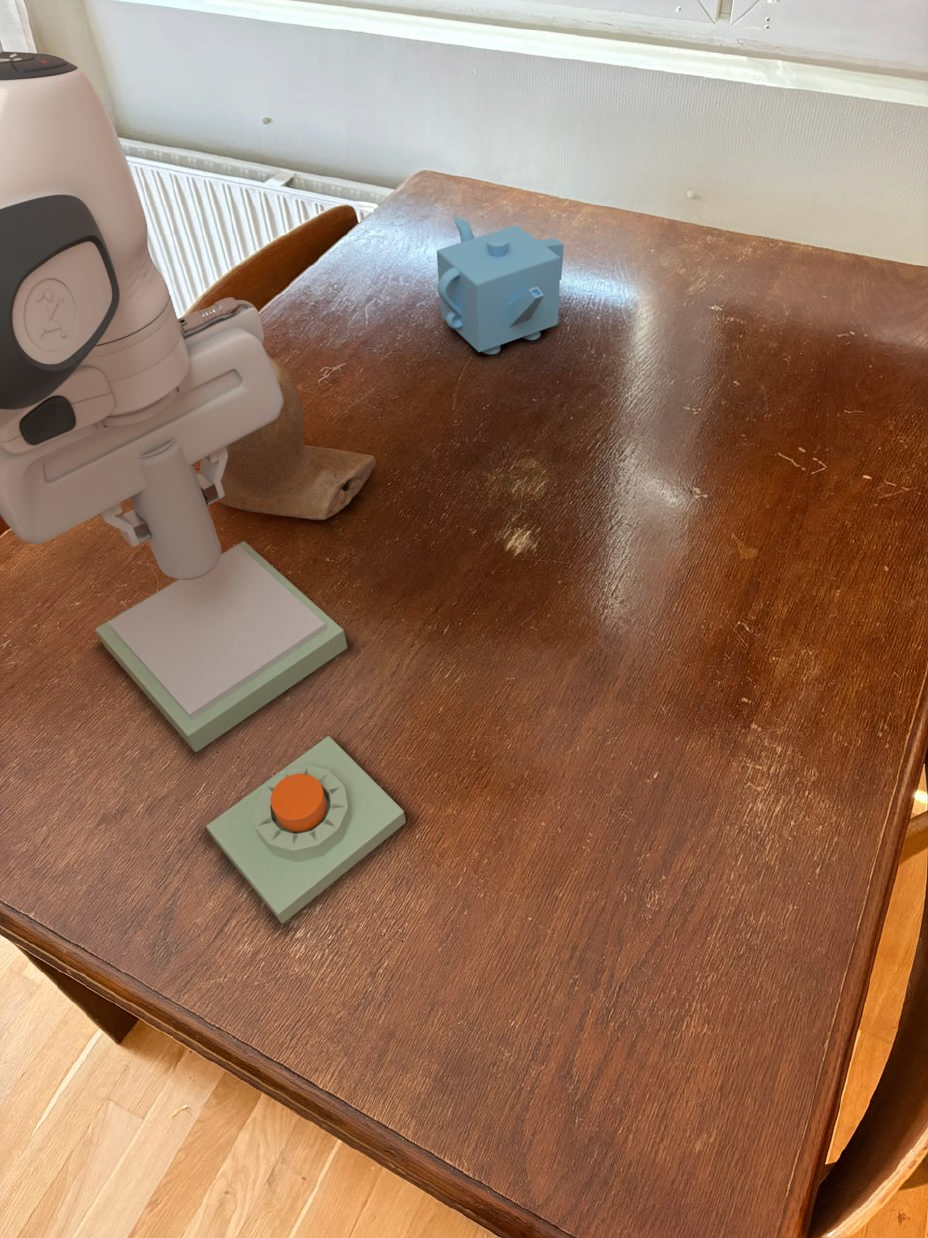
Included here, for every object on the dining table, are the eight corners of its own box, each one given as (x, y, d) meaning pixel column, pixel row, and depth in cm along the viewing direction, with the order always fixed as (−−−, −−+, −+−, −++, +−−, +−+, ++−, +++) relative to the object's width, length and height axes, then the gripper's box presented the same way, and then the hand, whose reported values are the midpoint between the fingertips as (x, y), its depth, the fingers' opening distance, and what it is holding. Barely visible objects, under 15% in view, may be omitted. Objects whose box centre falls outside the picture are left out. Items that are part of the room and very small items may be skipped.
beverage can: (147, 568, 68) (91, 441, 59) (193, 531, 71) (146, 404, 62) (191, 593, 66) (140, 466, 57) (236, 554, 69) (195, 427, 60)
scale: (196, 753, 70) (184, 730, 67) (104, 646, 77) (91, 622, 75) (347, 647, 76) (342, 623, 74) (249, 558, 84) (241, 534, 81)
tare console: (282, 925, 60) (272, 903, 58) (211, 837, 65) (198, 813, 62) (406, 822, 65) (402, 798, 62) (332, 747, 70) (324, 721, 67)
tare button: (295, 842, 61) (290, 829, 60) (265, 808, 63) (260, 795, 62) (337, 809, 63) (333, 796, 61) (307, 776, 64) (302, 764, 63)
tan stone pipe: (190, 523, 87) (142, 393, 76) (246, 448, 94) (209, 319, 83) (333, 553, 84) (305, 421, 72) (380, 472, 91) (361, 341, 80)
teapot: (478, 385, 100) (475, 291, 92) (406, 313, 111) (397, 223, 102) (596, 342, 105) (603, 249, 96) (515, 277, 115) (515, 188, 107)
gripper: (226, 270, 61) (268, 435, 71) (-72, 399, 52) (26, 565, 63) (279, 304, 58) (315, 471, 68) (-28, 447, 49) (67, 614, 59)
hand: (174, 517), depth 65 cm, fingers closed on beverage can, 5 cm apart
